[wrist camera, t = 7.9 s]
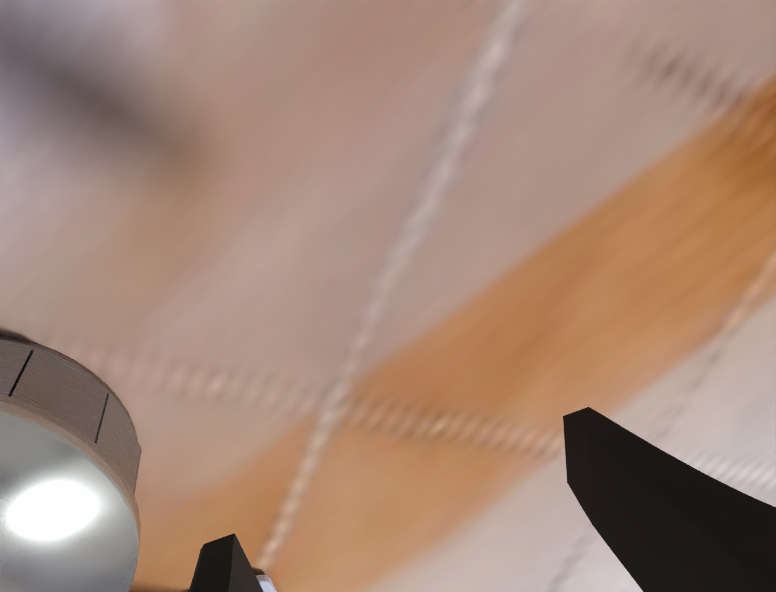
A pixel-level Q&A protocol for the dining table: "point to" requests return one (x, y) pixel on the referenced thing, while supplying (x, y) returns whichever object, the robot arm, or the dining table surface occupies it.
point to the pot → (70, 398)
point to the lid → (61, 508)
